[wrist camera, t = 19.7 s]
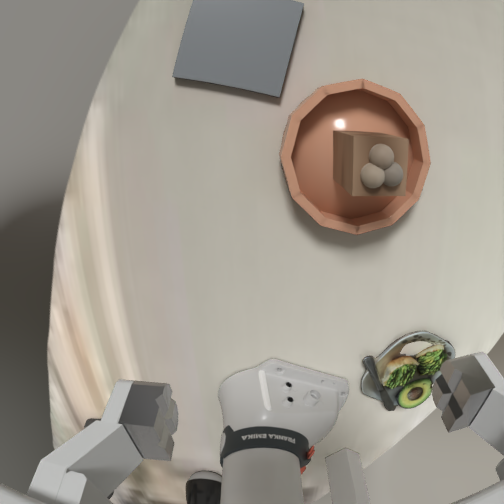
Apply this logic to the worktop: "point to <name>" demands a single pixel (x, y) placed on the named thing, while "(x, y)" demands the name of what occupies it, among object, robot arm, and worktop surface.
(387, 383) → the salad plate
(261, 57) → the parts tray
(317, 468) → the worktop surface
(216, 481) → the black egg-shaped dome
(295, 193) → the bowl
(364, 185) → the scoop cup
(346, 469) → the milk
